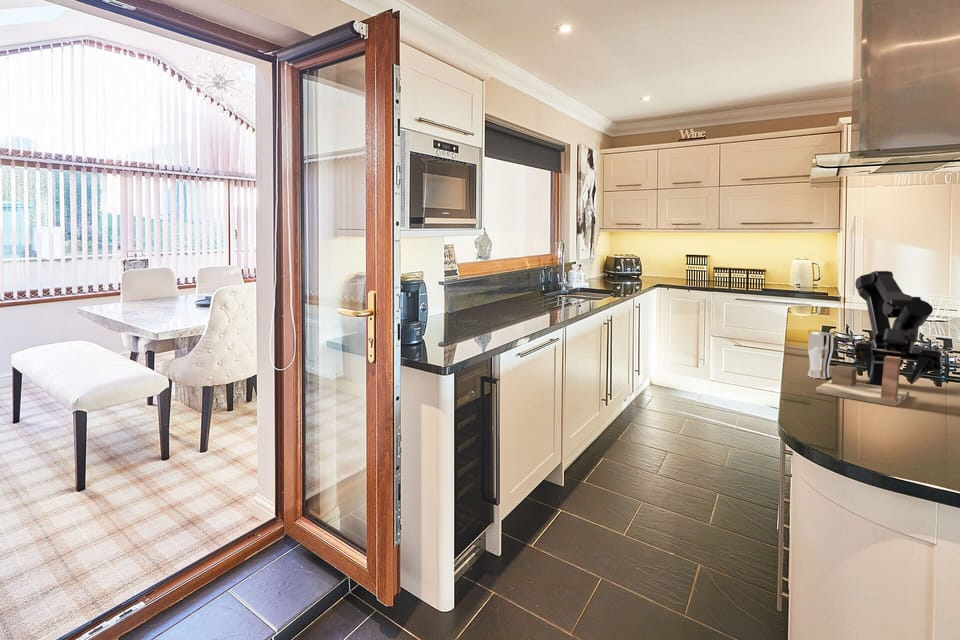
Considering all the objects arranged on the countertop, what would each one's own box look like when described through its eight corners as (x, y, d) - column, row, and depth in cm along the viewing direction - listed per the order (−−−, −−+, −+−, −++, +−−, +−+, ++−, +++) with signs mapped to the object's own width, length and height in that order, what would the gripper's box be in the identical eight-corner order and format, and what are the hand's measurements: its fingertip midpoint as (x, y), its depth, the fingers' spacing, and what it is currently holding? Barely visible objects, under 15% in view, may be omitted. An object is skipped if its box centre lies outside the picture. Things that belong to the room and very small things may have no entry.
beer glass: (835, 379, 165) (838, 335, 163) (811, 379, 166) (814, 334, 164) (825, 374, 172) (828, 331, 170) (802, 374, 173) (805, 331, 171)
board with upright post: (832, 383, 160) (835, 343, 158) (909, 395, 145) (913, 351, 144) (815, 392, 151) (818, 350, 149) (895, 406, 136) (900, 359, 134)
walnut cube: (836, 380, 158) (837, 365, 157) (855, 383, 154) (857, 367, 153) (831, 383, 155) (832, 367, 154) (850, 386, 151) (852, 370, 150)
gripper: (858, 315, 145) (843, 357, 140) (945, 320, 131) (932, 368, 126) (864, 338, 151) (850, 380, 146) (947, 346, 137) (935, 393, 132)
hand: (889, 380), depth 137 cm, fingers open, 9 cm apart
